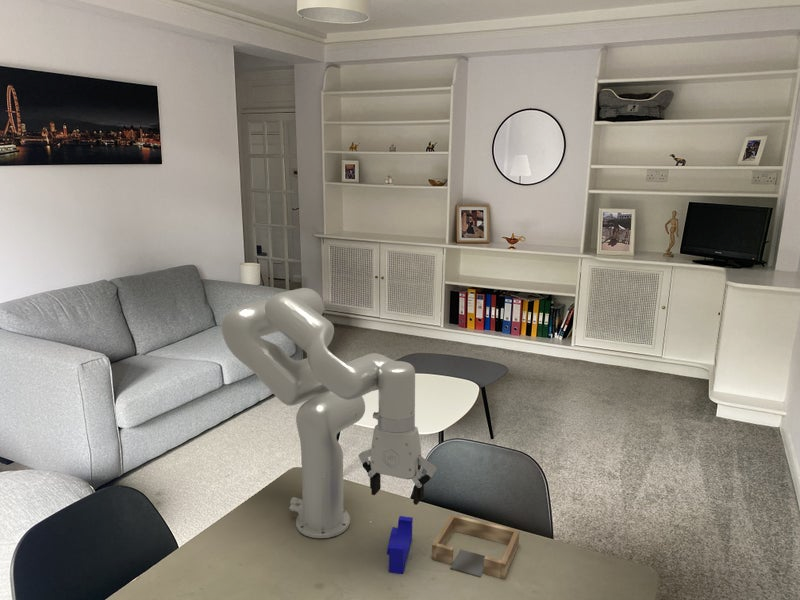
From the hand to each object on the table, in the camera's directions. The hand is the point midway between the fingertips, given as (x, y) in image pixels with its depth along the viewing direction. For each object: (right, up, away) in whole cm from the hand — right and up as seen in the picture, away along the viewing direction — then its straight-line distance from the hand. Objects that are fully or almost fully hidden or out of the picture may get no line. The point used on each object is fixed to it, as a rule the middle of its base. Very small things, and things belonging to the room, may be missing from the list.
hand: (396, 496), depth 131 cm
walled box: (+18, -14, +5) cm, 23 cm away
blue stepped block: (0, -14, +3) cm, 15 cm away
